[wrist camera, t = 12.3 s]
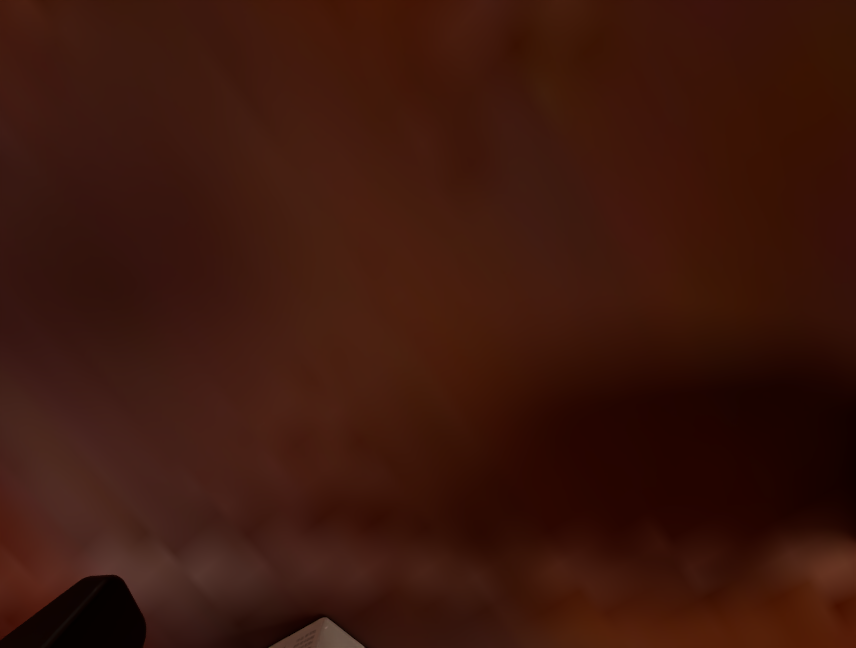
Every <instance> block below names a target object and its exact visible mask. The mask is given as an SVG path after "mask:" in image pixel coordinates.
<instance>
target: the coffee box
mask: <svg viewBox="0 0 856 648" xmlns="http://www.w3.org/2000/svg"><path fill="white" fill-rule="evenodd" d="M269 648H365V647H364V646H363V645H361V644H360V643H359V642H358V641H356V640H355V639H354V638H352V637H351V636H350V635H349V634H347V633H346V632H345V631H344V630H342V629H341V628H340V627H338V626H337V625H336V624H335V623H333V622H332V621H331V620H329V619H328V618H327V617H323V618H321V619H319V620H317V621H315V622H314V623H312V624H310V625H308V626H306V627H304V628H303V629H301V630H299V631H297V632H296V633H294V634H292V635H290V636H289V637H287V638H285V639H283V640H281V641H279V642H278V643H276V644H274V645H272V646H270V647H269Z"/></svg>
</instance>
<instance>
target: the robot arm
mask: <svg viewBox="0 0 856 648" xmlns="http://www.w3.org/2000/svg"><path fill="white" fill-rule="evenodd" d="M145 638H146V622H145V619H144V616H143V614H142V613H141V611H140V609H139V607H138V605H137V603H136V602H135V600H134V598H133V596H132V594H131V592H130V591H129V589H128V587H127V585H126V583H125V582H124V580H123V579H122V578H120V577H119V576H117V575H101V576H89V577H86V578H83V579H82V580H80V581H79V582H77V583H76V584H75V585H73V586H72V587H71V588H69V589H68V590H67V591H65V592H64V593H63V594H61V595H60V596H59V597H57V598H56V599H55V600H53V601H52V602H51V603H49V604H48V605H47V606H45V607H44V608H43V609H41V610H40V611H39V612H37V613H36V614H35V615H33V616H32V617H31V618H29V619H28V620H27V621H25V622H24V623H23V624H21V625H20V626H19V627H17V628H16V629H15V630H13V631H12V632H11V633H9V634H8V635H7V636H6V637H4V638H3V639H2V640H0V648H143V646H144V642H145Z"/></svg>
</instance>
